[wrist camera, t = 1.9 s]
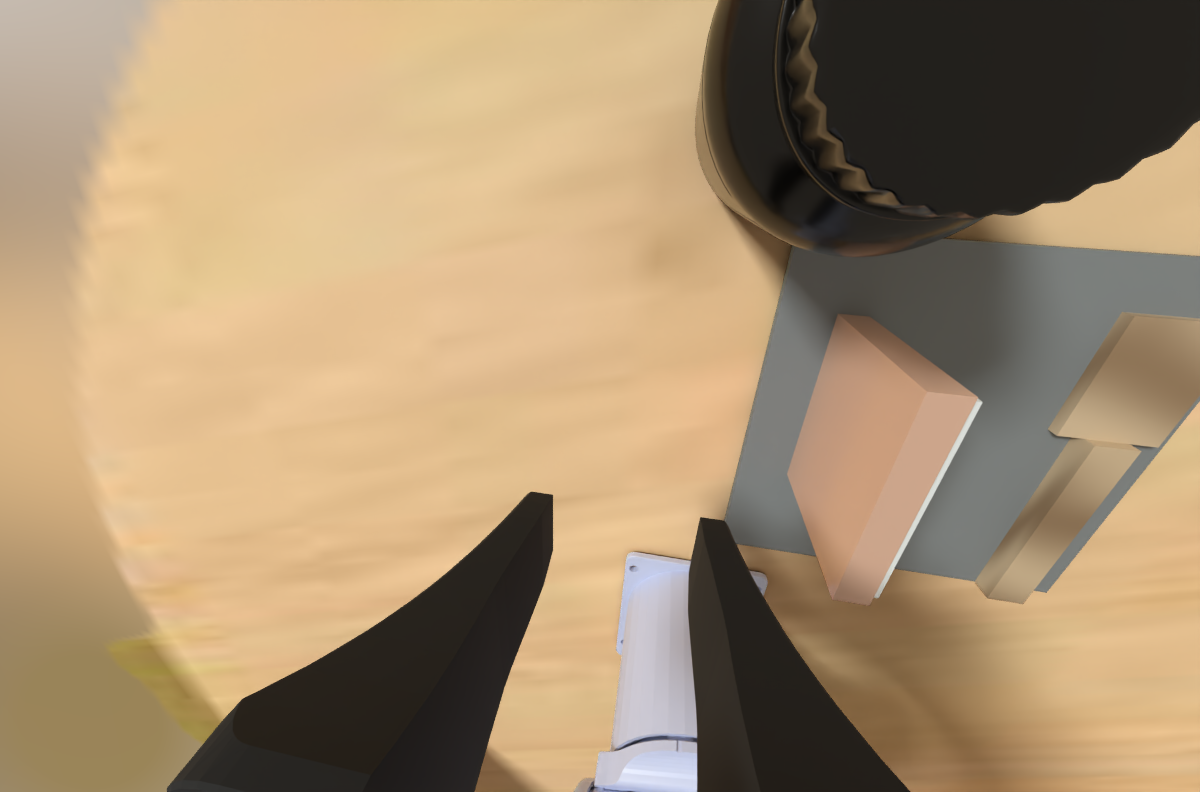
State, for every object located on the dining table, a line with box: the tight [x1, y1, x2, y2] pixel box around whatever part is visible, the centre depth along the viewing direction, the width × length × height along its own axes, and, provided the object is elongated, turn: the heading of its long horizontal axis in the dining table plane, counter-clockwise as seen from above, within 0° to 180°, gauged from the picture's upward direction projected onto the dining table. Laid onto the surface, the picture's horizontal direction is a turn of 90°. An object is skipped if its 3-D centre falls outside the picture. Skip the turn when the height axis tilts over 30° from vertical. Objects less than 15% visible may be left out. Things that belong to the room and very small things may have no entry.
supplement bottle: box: [695, 0, 1200, 257], centre depth 10 cm, size 7×7×12 cm
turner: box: [975, 312, 1200, 604], centre depth 18 cm, size 14×4×1 cm, turn 177°
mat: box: [724, 238, 1200, 593], centre depth 19 cm, size 16×16×1 cm
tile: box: [787, 314, 983, 606], centre depth 16 cm, size 8×2×7 cm, turn 177°
